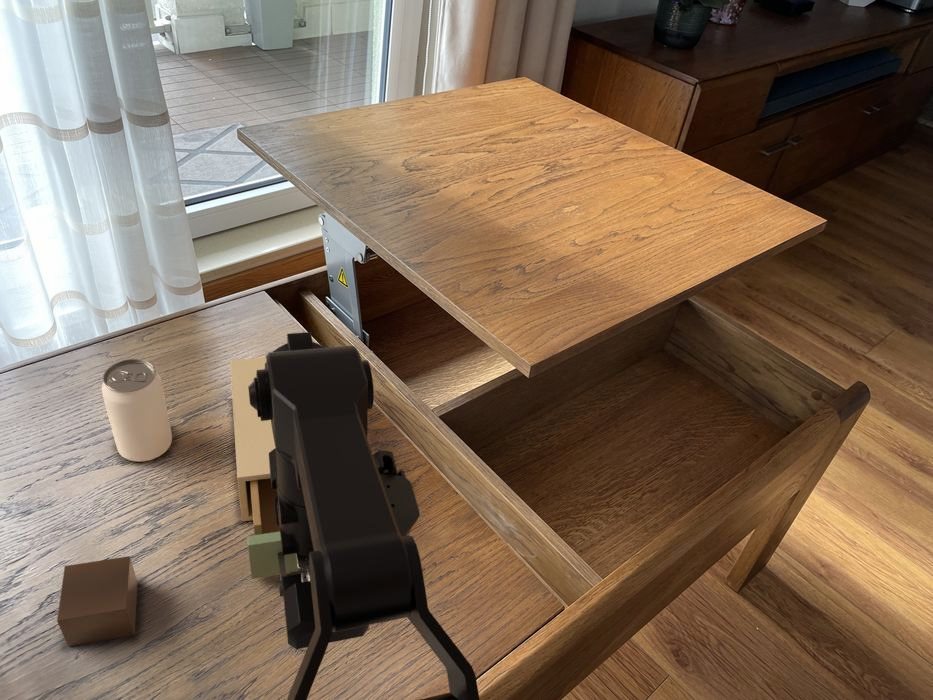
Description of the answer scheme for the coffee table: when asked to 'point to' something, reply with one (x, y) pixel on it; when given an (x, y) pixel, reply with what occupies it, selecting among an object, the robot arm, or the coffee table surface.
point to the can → (136, 410)
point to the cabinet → (249, 433)
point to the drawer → (267, 536)
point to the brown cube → (98, 601)
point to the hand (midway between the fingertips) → (314, 586)
